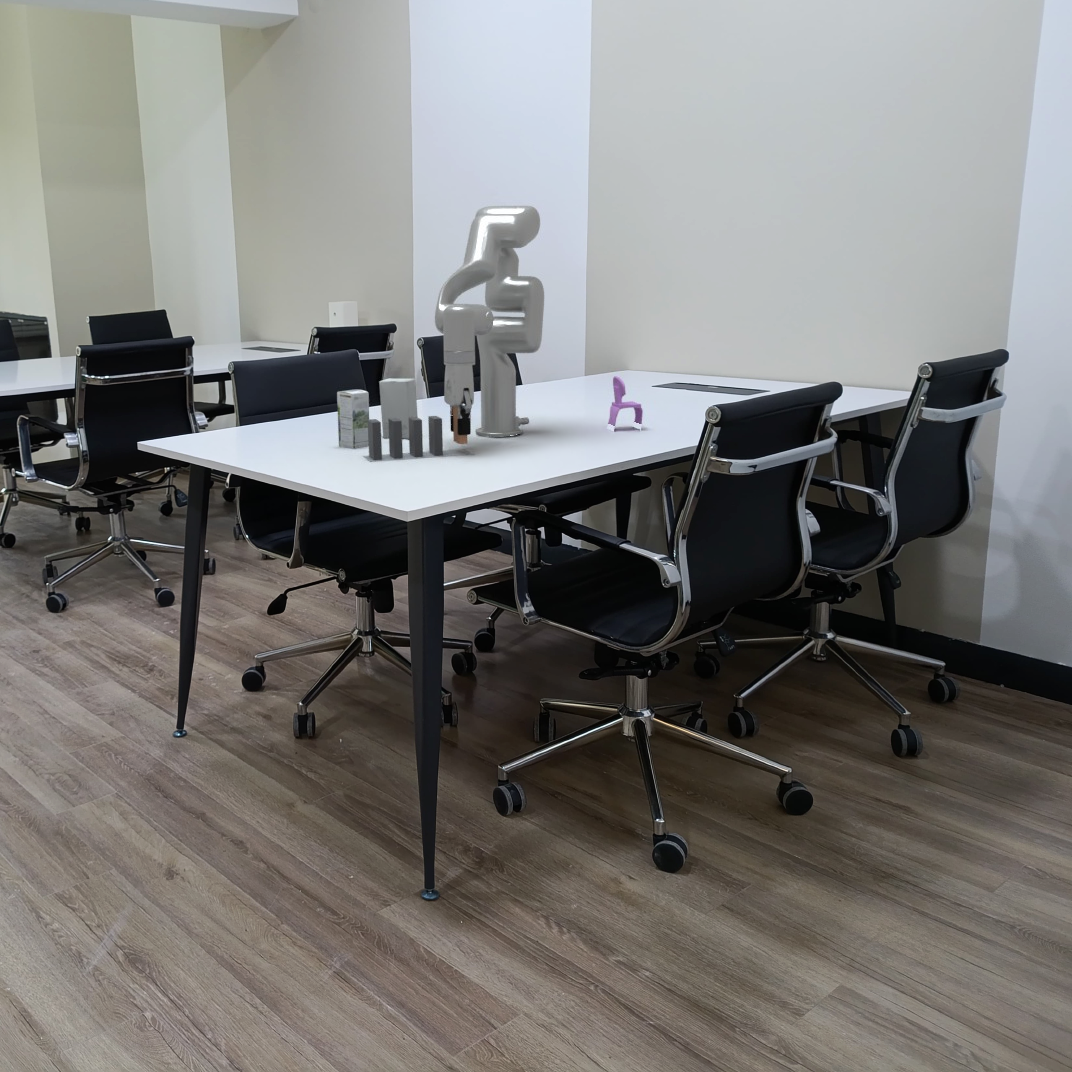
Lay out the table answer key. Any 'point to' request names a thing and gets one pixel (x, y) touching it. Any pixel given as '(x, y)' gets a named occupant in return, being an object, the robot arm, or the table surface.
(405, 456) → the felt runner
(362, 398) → the syrup box
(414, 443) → the domino
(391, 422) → the domino
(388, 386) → the skincare box
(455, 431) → the domino
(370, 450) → the domino
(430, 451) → the domino
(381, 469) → the table surface
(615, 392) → the toy chair
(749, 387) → the table surface
